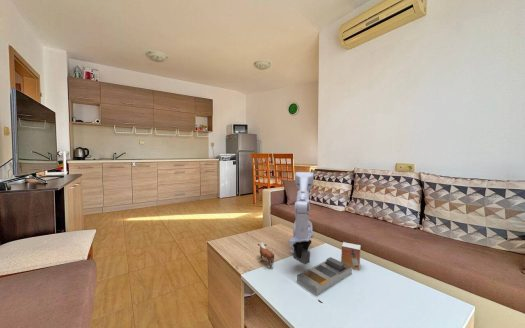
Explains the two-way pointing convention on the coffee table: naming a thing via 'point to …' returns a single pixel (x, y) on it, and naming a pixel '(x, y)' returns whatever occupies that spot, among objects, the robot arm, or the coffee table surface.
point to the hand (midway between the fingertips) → (301, 256)
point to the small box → (351, 255)
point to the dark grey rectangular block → (335, 264)
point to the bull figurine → (266, 254)
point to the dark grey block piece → (303, 256)
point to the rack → (322, 277)
